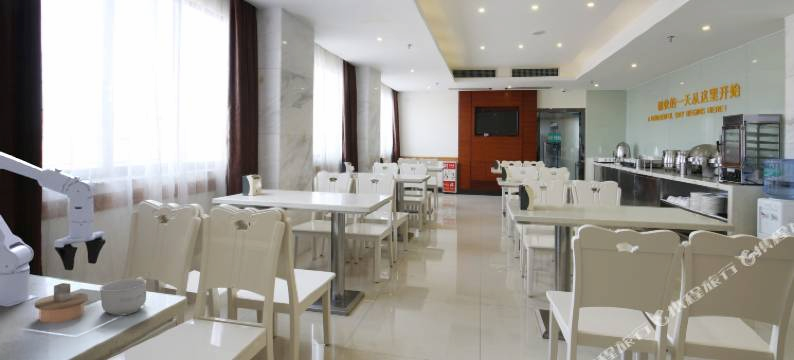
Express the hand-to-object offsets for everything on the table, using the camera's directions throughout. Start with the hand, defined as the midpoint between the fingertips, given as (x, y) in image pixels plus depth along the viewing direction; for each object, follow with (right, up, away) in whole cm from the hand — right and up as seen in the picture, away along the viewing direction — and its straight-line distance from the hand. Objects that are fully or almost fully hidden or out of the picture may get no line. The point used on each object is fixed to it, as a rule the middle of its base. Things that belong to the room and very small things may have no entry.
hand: (80, 266), depth 124 cm
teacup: (+18, -11, -6) cm, 22 cm away
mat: (0, -10, -1) cm, 10 cm away
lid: (+5, -7, -14) cm, 16 cm away
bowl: (+5, -11, -14) cm, 18 cm away
